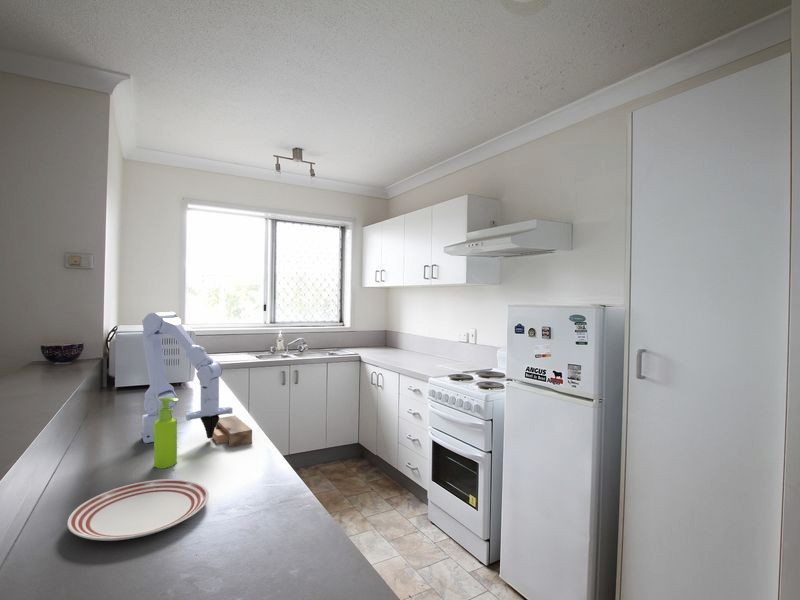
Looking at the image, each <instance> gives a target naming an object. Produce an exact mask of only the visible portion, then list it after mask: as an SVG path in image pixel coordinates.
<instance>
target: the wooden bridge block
mask: <svg viewBox="0 0 800 600" xmlns="http://www.w3.org/2000/svg"><path fill="white" fill-rule="evenodd" d="M216 429H223V430H224V431H225V432H226V433H227V434H228V435H229V441H228V444H229V445H228V446H229V447H230V448H234V447H241V446H245V445H250V444H252V443H253V429H252V428H251V427H249V426H248V425H247V424H246V423H244V422H243V420H241V419H240V418H239V417H238V416H236V415H230V416H225V417H219V421H218V423H217V425H216V427H215V429H214V430H216ZM240 445H241V446H240Z"/></svg>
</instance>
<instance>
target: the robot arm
mask: <svg viewBox="0 0 800 600" xmlns="http://www.w3.org/2000/svg"><path fill="white" fill-rule="evenodd" d="M142 328H143V330H142V337H141V338H142V345H143V350H144V357H145V363H146V369H147V374H148V382H149V387H148V389H147V390H146V391H145V393H144V401H143V408H144V410H145V411H146V414H142V416H141V438H142V441H143V443H144V444H148V443H154V422H155V421H156V420H159V409H161V408H162V401H159V399H160V398H163V397H174V398H177V399H179V398H178V395H177V394H176V392H175V389H174V386H173V385H172V384H170V383H169V381H168V376H167V369H166V363H165V355H164V350H163V344H162V339H163V338H164V337H165V335H171V336H172V337H173V339H175V340H176V342H178V344H179V345H180V346H181V347H182V348H183V349H184V351H185V358H187V360H188V361H189V362H190V364H191V365H192V366H193V367H194V369H195V370H196V371H197V372H196V377H197V379H198V381H199V386H200V410H197V411H192V412H188V413H186V414H185V420H186V421H191V420H196V419H200V421H201V423H202V425H203V428H204V430H205V432H206V433H205V434H206V438H207V439H213V433H214V430H215V427H216V425H217V423H218V421H219V418H220V416H221V415H227V414H229V415H231V414H233V408H232V406H228V407H220V406H219V405H220V377H221V376H222V374H223V366H222V365H221V363H220V362H219V361H215V360H213V358H211V357H210V355H209V354H208V353H207V352H206V348H205V347H203V346H201V345H197V344H195V342H194V341H193V339H192V338H191V336H190V334H189V333H188V332H187V331H186V329H185V328H184V327H183V325H182V319H181V318H180V317H179V316H178V315H177V313H175V312H174V311H163V312H150V313H148V314H147V315H145V317H144V318H143V319H142ZM178 402H179V400H178V401H176V402H172V401H169V407H170V408H172V418H174V413H173V412H174V410H175V406H177V404H178Z"/></svg>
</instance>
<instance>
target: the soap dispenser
mask: <svg viewBox="0 0 800 600" xmlns="http://www.w3.org/2000/svg"><path fill="white" fill-rule="evenodd" d="M159 401H162V408H161V409H159V420H156V421H155V422H154V442H153V445H154V446H153V450H154V451H153V454H154V455H153V459H154V461H153V462H154V463H153V465H154V466H155V467H157V468H156V469H166V468H165V467H168V468H170V467H169V466H171V467H173V466H172V465H174V464H175V465H177V464H178V461H177V459H178V453H177V452H178V445H177V444H178V443H177V442H178V440H177V439H178V436H177V435H178V432H177V431H178V429H177V428H178V425H177V423H178V422H177V421H178V420H177V418H176V417H173V418H172V408H170V407H169V401H172V402H176V401H178V402H179V401H180V399H179V398H178V399H177V398H174V397H163V398H160V399H159ZM175 465H174V466H175ZM154 466H153V467H154ZM155 467H154V468H155Z"/></svg>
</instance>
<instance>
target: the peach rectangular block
mask: <svg viewBox="0 0 800 600" xmlns="http://www.w3.org/2000/svg"><path fill="white" fill-rule="evenodd" d="M212 439H213V440H214V441H215V443H216V444H221V443H222V444H223V443H226V442H227V443H228V442H229V435H228V434H227V433H226V432H225V431H224V430H223V429H216V430H215V429H214V433H213V438H212Z"/></svg>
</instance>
